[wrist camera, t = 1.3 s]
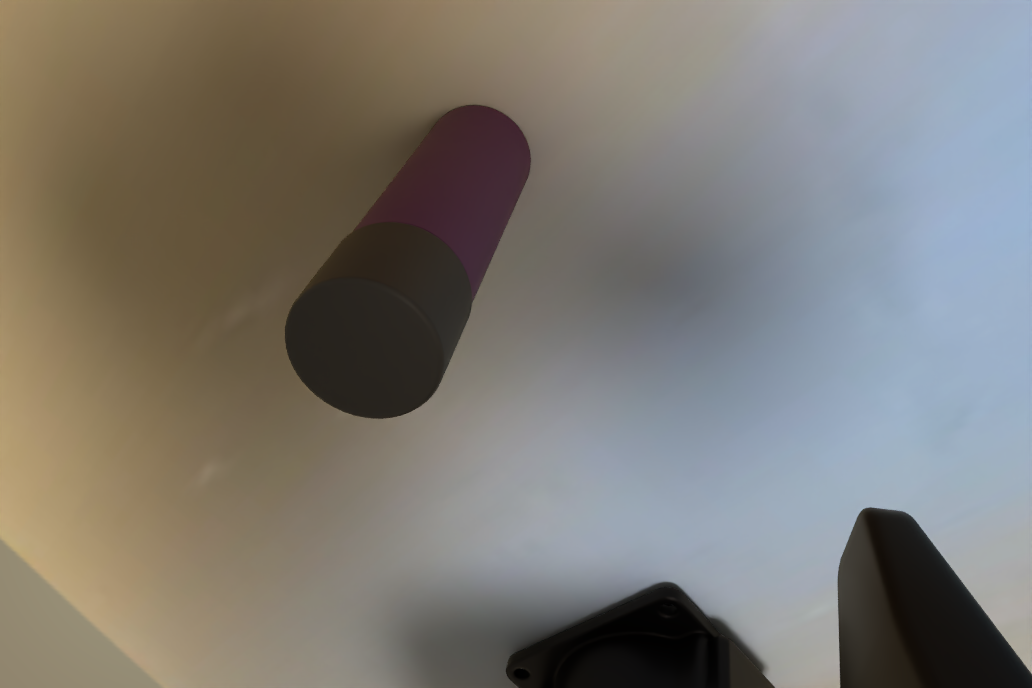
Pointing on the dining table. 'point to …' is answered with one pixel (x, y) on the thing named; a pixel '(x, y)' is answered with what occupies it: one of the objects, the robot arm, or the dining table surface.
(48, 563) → the dining table surface
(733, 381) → the dining table surface
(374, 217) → the glue stick
